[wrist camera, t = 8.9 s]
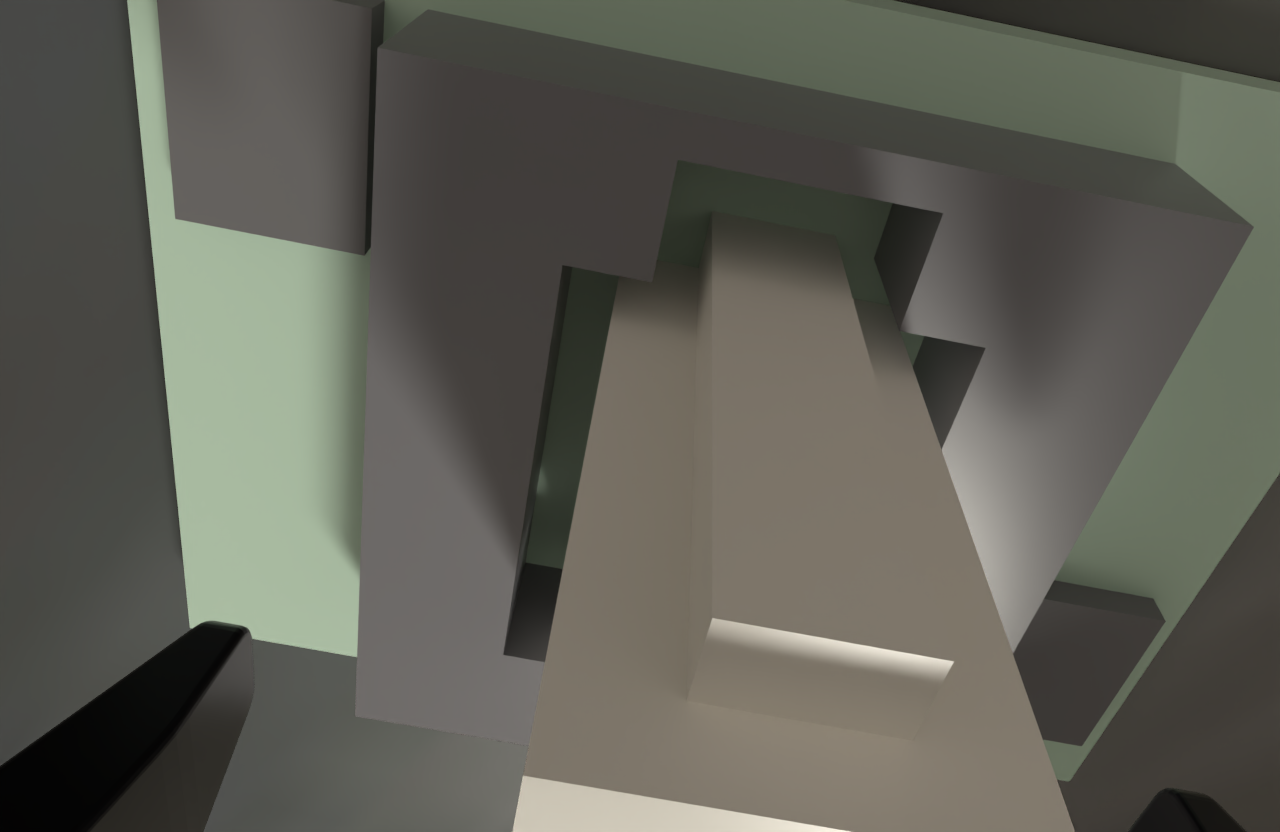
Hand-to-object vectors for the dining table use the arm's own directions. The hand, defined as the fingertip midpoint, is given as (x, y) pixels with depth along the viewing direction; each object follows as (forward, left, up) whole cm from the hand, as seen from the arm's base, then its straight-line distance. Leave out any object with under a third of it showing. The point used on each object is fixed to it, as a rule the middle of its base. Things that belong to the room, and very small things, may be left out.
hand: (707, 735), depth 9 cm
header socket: (0, 0, -6) cm, 6 cm away
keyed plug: (0, 0, -5) cm, 5 cm away
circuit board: (0, 0, -6) cm, 6 cm away
